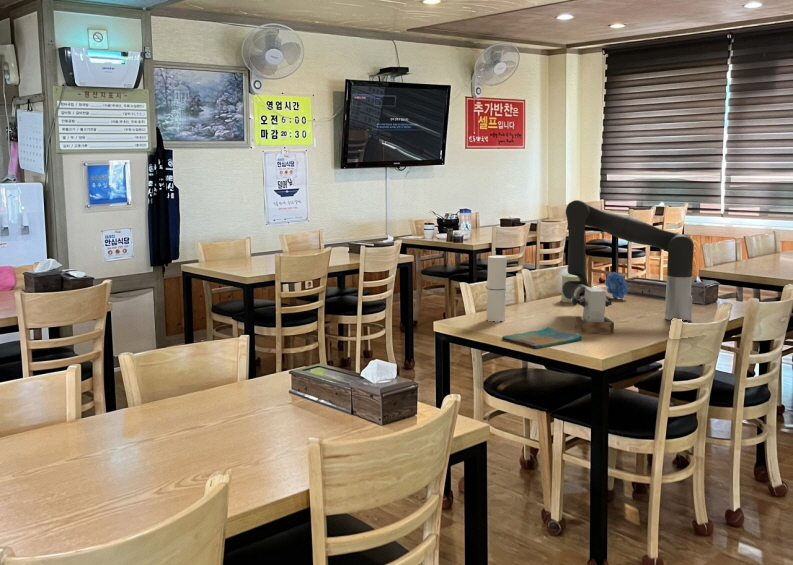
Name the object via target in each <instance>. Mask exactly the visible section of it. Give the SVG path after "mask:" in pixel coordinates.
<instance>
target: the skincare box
mask: <svg viewBox="0 0 793 565" xmlns="http://www.w3.org/2000/svg"><path fill="white" fill-rule="evenodd" d="M606 296H607V290H604V289H603V288H601V287H590V286H589V287H585V298H584V300H585V307H583V309H582V310H583V313H582V320H583V321H584V322H604V317H606V316H605V315H606V306H605V303H606Z"/></svg>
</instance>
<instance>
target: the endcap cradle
mask: <svg viewBox="0 0 793 565" xmlns="http://www.w3.org/2000/svg"><path fill="white" fill-rule="evenodd" d="M574 319H575V321H574V322H575V323H574V328H575V329H576V330H578V331H579V332H580V333H581V334H600V335H601V334H610V335H611V334H612V335H614V334H615V333H614V332H615V331H614V330H615V322H614V321H612V320H611V319H610V318H609V317H607V316H604V322H584V321H583V318H581V317H580V316H575V318H574Z"/></svg>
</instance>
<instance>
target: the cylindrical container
mask: <svg viewBox="0 0 793 565" xmlns="http://www.w3.org/2000/svg"><path fill="white" fill-rule="evenodd" d="M507 259H508V258H507V256H506V255H488V256H487V278H486V279H487V281H486V284H487V285H486V286H487V287H486V290H487V291H486V321H487V320H489V321H495V322H494V323H501V322H500V321H504V322H505V321H506V298H507V296H506V294H507V292H506V291H507V284H506V283H507ZM489 321H488V322H489Z"/></svg>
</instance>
